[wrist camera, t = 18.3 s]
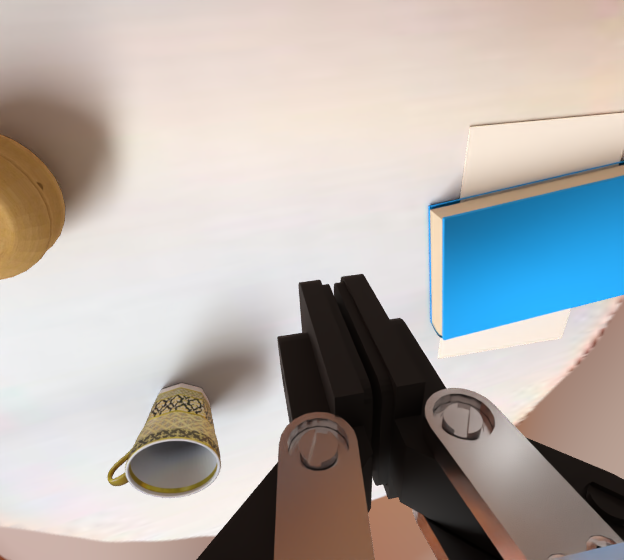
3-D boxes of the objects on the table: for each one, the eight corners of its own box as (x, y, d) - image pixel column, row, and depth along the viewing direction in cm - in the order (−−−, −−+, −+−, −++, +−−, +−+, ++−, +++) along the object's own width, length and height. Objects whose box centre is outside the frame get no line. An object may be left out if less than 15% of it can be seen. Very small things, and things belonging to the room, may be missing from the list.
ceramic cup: (203, 362, 51) (199, 427, 43) (232, 414, 57) (233, 480, 48) (102, 395, 51) (78, 467, 43) (141, 444, 56) (126, 516, 48)
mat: (469, 126, 42) (470, 127, 42) (634, 111, 45) (636, 111, 45) (437, 358, 58) (438, 359, 58) (560, 337, 61) (561, 338, 61)
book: (442, 219, 42) (669, 165, 44) (425, 205, 46) (636, 155, 47) (443, 345, 51) (632, 297, 53) (429, 324, 55) (606, 280, 56)
